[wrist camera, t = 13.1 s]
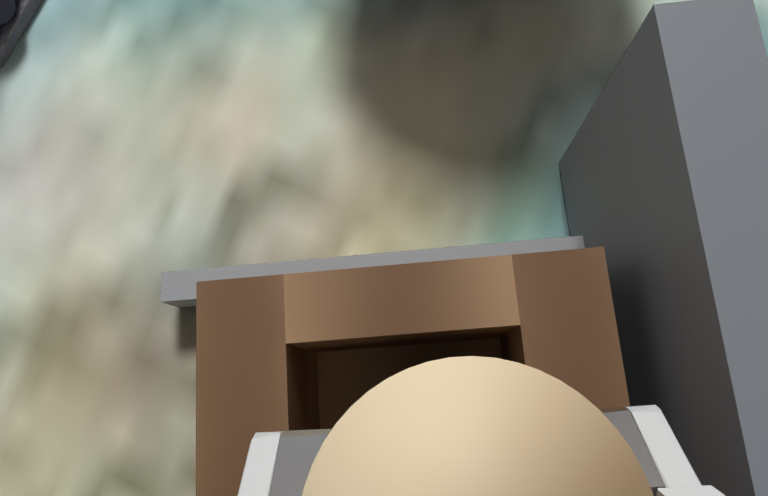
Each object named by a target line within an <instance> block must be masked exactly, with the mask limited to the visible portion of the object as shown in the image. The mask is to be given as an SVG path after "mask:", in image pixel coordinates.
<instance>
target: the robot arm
mask: <svg viewBox="0 0 768 496" xmlns="http://www.w3.org/2000/svg"><path fill="white" fill-rule="evenodd" d="M599 410H600V411H601V412H602V413H603V414H604V415H605V416H606V417H607V418H608V420H609V421H610V422H611V423H612V424H613V425H614V426H615V427H616V428H617V430H618V431H619V432H620V434H621V435H622V437H623V438H624V439H625V441H626V442H627V444H628V445H629V446H630V448H631V449H632V451H633V453H634V455H635V456H636V458H637V460H638V462H639V464H640V465H641V467H642V469H643V471H644V473H645V476H646V478H647V480H648V483H649V485H650V488H651V490H652V493H653V495H654V496H726V495H724V494H723V493H721V492H720V491H719V490H717V489H716V488H714V487H713V486H712V485H701V483H700V481H699V479H698V477H697V476H696V474H695V472H694V470H693V468H692V466H691V464H690V463H689V461H688V459H687V457H686V455H685V453H684V451H683V450H682V448H681V446H680V444H679V442H678V440H677V439H676V437H675V435H674V433H673V431H672V429H671V427H670V426H669V424H668V422H667V420H666V418H665V416H664V414H663V413H662V411H661V409H660V408H659V407H657V406H656V405H645V406H631V407H625V408H624V407H613V408H601V409H599ZM331 430H332V429H314V430H291V431H276V432H258V433H255V435H254V437H253V438H252V440H251V443H250V447H249V451H248V455H247V459H246V463H245V467H244V471H243V475H242V479H241V483H240V487H239V491H238V495H237V496H302V494H303V489H304V486H305V483H306V480H307V477H308V475H309V472H310V469H311V466H312V464H313V462H314V460H315V458H316V456H317V454H318V452H319V450H320V448H321V446H322V444H323V442H324V441H325V439H326V438H327V436H328V435H329V433H330V432H331Z"/></svg>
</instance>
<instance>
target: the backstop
mask: <svg viewBox="0 0 768 496" xmlns="http://www.w3.org/2000/svg"><path fill="white" fill-rule="evenodd" d="M559 167H560V174H561V180H562V187H563V193H564V200H565V206H566V213H567V219H568V226H569V233H570V237H560V238H548V239H537V240H525V241H514V242H502V243H491V244H479V245H468V246H457V247H445V248H434V249H422V250H411V251H399V252H388V253H376V254H365V255H353V256H342V257H330V258H319V259H308V260H296V261H285V262H273V263H262V264H250V265H239V266H227V267H216V268H204V269H193V270H181V271H170V272H161V302H163V303H166V304H170V305H173V306H176V307H191V306H196V282H199V281H210V280H222V279H233V278H245V277H257V276H268V275H280V274H292V273H303V272H315V271H326V270H338V269H350V268H361V267H373V266H384V265H396V264H408V263H419V262H431V261H442V260H454V259H466V258H477V257H489V256H501V255H512V254H524V253H535V252H547V251H559V250H570V249H582V248H593V247H604V251H605V257H606V263H607V269H608V276H609V282H610V288H611V294H612V300H613V306H614V312H615V318H616V324H617V330H618V336H619V342H620V348H621V354H622V360H623V366H624V372H625V378H626V384H627V390H628V396H629V402H630V407H631V406H645V405H656V406H657V407H659V408H660V409H661V411H662V413H663V414H664V416H665V418H666V420H667V422H668V424H669V426H670V427H671V429H672V431H673V433H674V435H675V437H676V439H677V440H678V442H679V444H680V446H681V448H682V450H683V451H684V453H685V455H686V457H687V459H688V461H689V463H690V464H691V466H692V468H693V470H694V472H695V474H696V476H697V477H698V479H699V481H700V483H701V485H712V486H713V487H714V488H716V489H717V490H719V491H720V492H721V493H723V494H724V495H726V496H768V58H767V54H766V50H765V46H764V42H763V38H762V34H761V30H760V26H759V22H758V18H757V14H756V10H755V6H754V2H753V0H693V1H684V2H675V3H665V4H656V5H653V7H652V8H651V10H650V12H649V13H648V15H647V17H646V18H645V20H644V22H643V23H642V25H641V27H640V28H639V30H638V32H637V33H636V35H635V37H634V38H633V40H632V42H631V43H630V45H629V47H628V48H627V50H626V52H625V53H624V55H623V57H622V58H621V60H620V62H619V63H618V65H617V67H616V68H615V70H614V72H613V73H612V75H611V77H610V78H609V80H608V82H607V83H606V85H605V87H604V88H603V90H602V92H601V93H600V95H599V97H598V98H597V100H596V102H595V103H594V105H593V107H592V108H591V110H590V112H589V113H588V115H587V117H586V119H585V120H584V122H583V124H582V125H581V127H580V129H579V130H578V132H577V134H576V135H575V137H574V139H573V140H572V142H571V144H570V145H569V147H568V149H567V150H566V152H565V154H564V155H563V157H562V159H561V160H560V162H559Z"/></svg>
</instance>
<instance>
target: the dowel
mask: <svg viewBox="0 0 768 496" xmlns="http://www.w3.org/2000/svg"><path fill="white" fill-rule="evenodd" d="M302 496H654V495H653V493H652V490H651V488H650V485H649V483H648V480H647V478H646V476H645V473H644V471H643V469H642V467H641V465H640V464H639V462H638V460H637V458H636V456H635V455H634V453H633V451H632V449H631V448H630V446H629V445H628V444H627V442H626V441H625V439H624V438H623V437H622V435H621V434H620V432H619V431H618V430H617V428H616V427H615V426H614V425H613V424H612V423H611V422H610V421H609V420H608V418H607V417H606V416H605V415H604V414H603V413H602V412H601V411H600V410H599V409H598V408H597V407H596V406H595V405H593V404H592V403H591V402H590V401H589V400H587V399H586V398H585V397H584V396H583V395H582V394H580V393H579V392H577V391H576V390H574V389H573V388H571V387H570V386H568V385H567V384H565V383H564V382H562V381H561V380H559V379H557V378H555V377H553V376H551V375H549V374H547V373H545V372H543V371H541V370H538V369H535V368H532V367H530V366H527V365H524V364H521V363H518V362H514V361H509V360H504V359H499V358H493V357H480V356H463V357H449V358H444V359H438V360H433V361H428V362H425V363H422V364H419V365H416V366H413V367H410V368H407V369H405V370H403V371H401V372H399V373H397V374H395V375H393V376H391V377H389V378H387V379H385V380H384V381H382V382H381V383H379V384H378V385H377V386H375V387H374V388H372V389H371V390H369V391H368V392H367V393H365V394H364V395H363V396H362V397H361V398H360V399H359V400H358V401H356V402H355V403H354V404H353V405H352V406H351V407H350V408H349V409H348V410H347V411H346V413H345V414H344V415H343V416H342V417H341V418H340V419H339V421H338V422H337V423H336V424H335V426H334V427H333V429H332V430H331V432H330V433H329V435H328V436H327V438H326V439H325V441H324V442H323V444H322V446H321V448H320V450H319V452H318V454H317V456H316V458H315V460H314V462H313V464H312V466H311V469H310V472H309V475H308V477H307V480H306V483H305V486H304V489H303V494H302Z"/></svg>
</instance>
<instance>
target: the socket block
mask: <svg viewBox="0 0 768 496" xmlns="http://www.w3.org/2000/svg"><path fill="white" fill-rule="evenodd" d="M463 356H480V357H493V358H499V359H504V360H509V361H514V362H518V363H521V364H524V365H527V366H530V367H532V368H535V369H538V370H541V371H543V372H545V373H547V374H549V375H551V376H553V377H555V378H557V379H559V380H561V381H562V382H564V383H565V384H567V385H568V386H570V387H571V388H573V389H574V390H576V391H577V392H579V393H580V394H582V395H583V396H584V397H585V398H586V399H587V400H589V401H590V402H591V403H592V404H593V405H595V406H596V407H597V408H598V409H601V408H613V407H624V408H625V407H630V402H629V396H628V390H627V384H626V378H625V372H624V366H623V360H622V354H621V348H620V342H619V336H618V330H617V324H616V318H615V312H614V306H613V300H612V294H611V288H610V282H609V276H608V269H607V263H606V257H605V251H604V247H593V248H582V249H570V250H559V251H547V252H535V253H524V254H512V255H501V256H489V257H477V258H466V259H454V260H442V261H431V262H419V263H408V264H396V265H384V266H373V267H361V268H350V269H338V270H326V271H315V272H303V273H292V274H280V275H268V276H257V277H245V278H233V279H222V280H210V281H199V282H196V496H237V495H238V491H239V487H240V483H241V479H242V475H243V471H244V467H245V463H246V459H247V455H248V451H249V447H250V443H251V440H252V438H253V437H254V435H255V433H258V432H276V431H291V430H314V429H333V427H334V426H335V424H336V423H337V422H338V421H339V419H340V418H341V417H342V416H343V415H344V414H345V413H346V411H347V410H348V409H349V408H350V407H351V406H352V405H353V404H354V403H355V402H356V401H358V400H359V399H360V398H361V397H362V396H363V395H364V394H365V393H367V392H368V391H369V390H371V389H372V388H374V387H375V386H377V385H378V384H379V383H381V382H382V381H384V380H385V379H387V378H389V377H391V376H393V375H395V374H397V373H399V372H401V371H403V370H405V369H407V368H410V367H413V366H416V365H419V364H422V363H425V362H428V361H433V360H438V359H444V358H449V357H463Z"/></svg>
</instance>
